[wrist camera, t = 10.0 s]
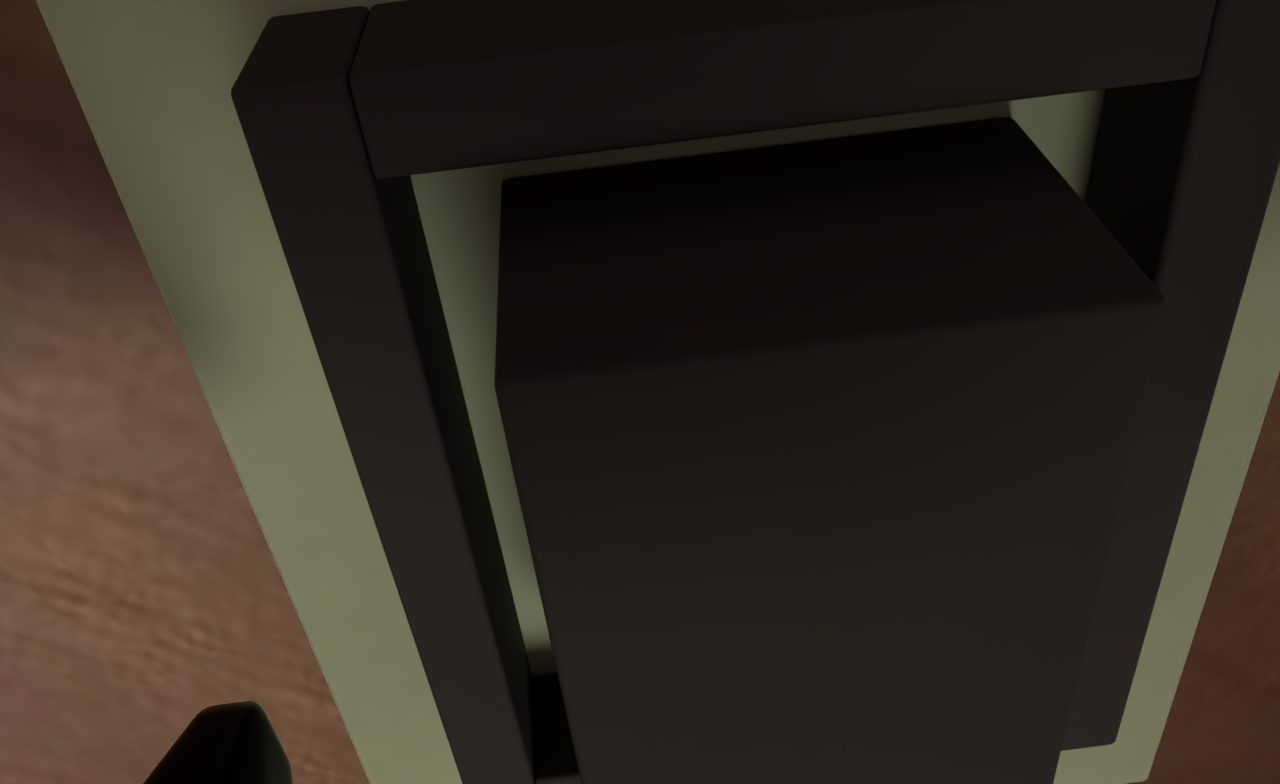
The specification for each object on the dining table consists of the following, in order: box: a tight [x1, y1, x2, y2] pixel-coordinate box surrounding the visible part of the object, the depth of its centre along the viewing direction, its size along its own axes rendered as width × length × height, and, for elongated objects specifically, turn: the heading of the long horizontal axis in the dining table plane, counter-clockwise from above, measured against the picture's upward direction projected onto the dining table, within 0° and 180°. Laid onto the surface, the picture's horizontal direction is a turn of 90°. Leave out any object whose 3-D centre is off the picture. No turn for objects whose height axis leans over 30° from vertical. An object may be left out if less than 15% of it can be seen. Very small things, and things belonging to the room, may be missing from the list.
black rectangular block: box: [494, 117, 1166, 784], centre depth 10 cm, size 6×4×3 cm
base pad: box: [36, 0, 1280, 784], centre depth 11 cm, size 16×11×3 cm
